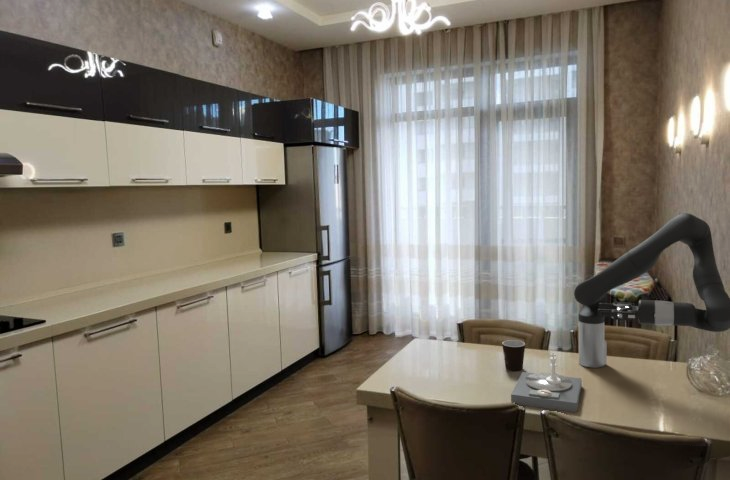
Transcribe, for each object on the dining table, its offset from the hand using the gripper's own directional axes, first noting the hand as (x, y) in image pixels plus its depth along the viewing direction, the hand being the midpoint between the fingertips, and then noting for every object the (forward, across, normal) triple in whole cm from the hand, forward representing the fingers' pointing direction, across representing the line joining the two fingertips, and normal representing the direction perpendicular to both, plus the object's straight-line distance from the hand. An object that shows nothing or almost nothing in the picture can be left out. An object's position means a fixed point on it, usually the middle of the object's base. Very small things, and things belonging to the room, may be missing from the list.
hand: (598, 309), depth 167 cm
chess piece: (+14, 0, +26) cm, 30 cm away
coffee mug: (+31, -21, +30) cm, 48 cm away
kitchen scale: (+16, +2, +30) cm, 34 cm away
